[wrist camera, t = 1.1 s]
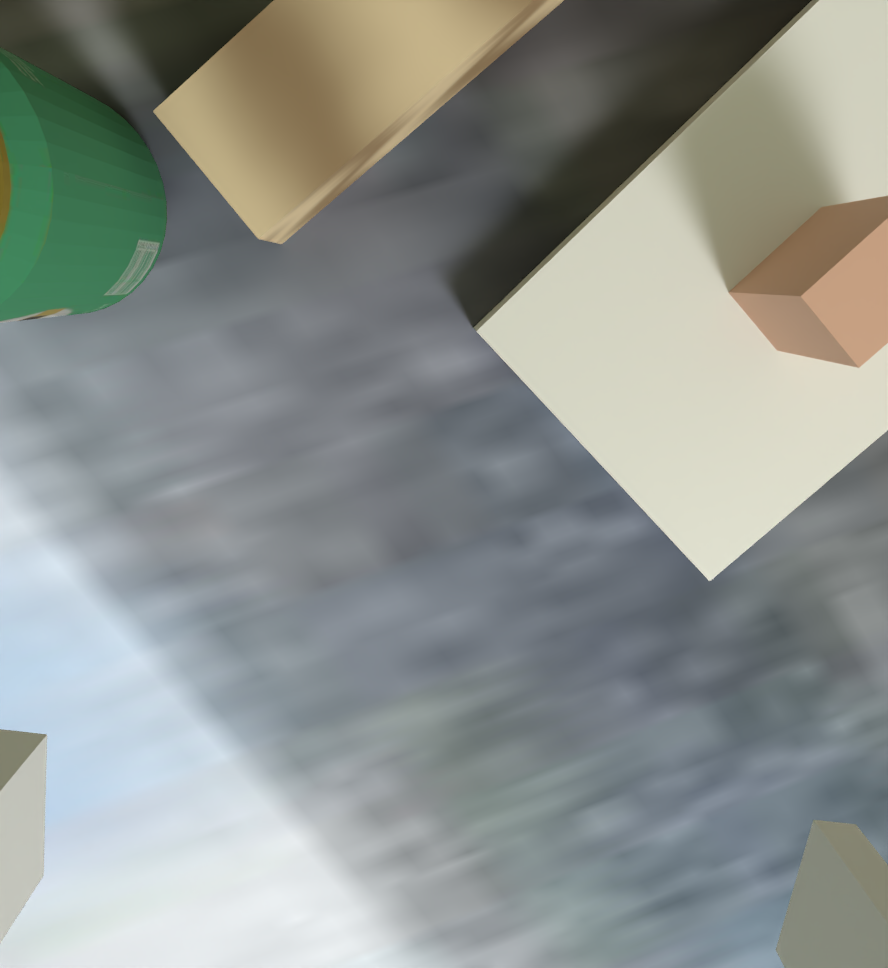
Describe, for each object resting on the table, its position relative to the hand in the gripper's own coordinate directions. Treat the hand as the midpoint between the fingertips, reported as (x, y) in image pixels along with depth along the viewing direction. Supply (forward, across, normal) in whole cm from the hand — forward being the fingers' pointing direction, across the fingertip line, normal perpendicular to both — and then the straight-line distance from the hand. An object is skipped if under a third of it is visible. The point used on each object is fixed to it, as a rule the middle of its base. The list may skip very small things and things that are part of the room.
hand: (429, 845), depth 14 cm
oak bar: (+21, -1, +20) cm, 29 cm away
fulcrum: (+21, +12, +11) cm, 27 cm away
